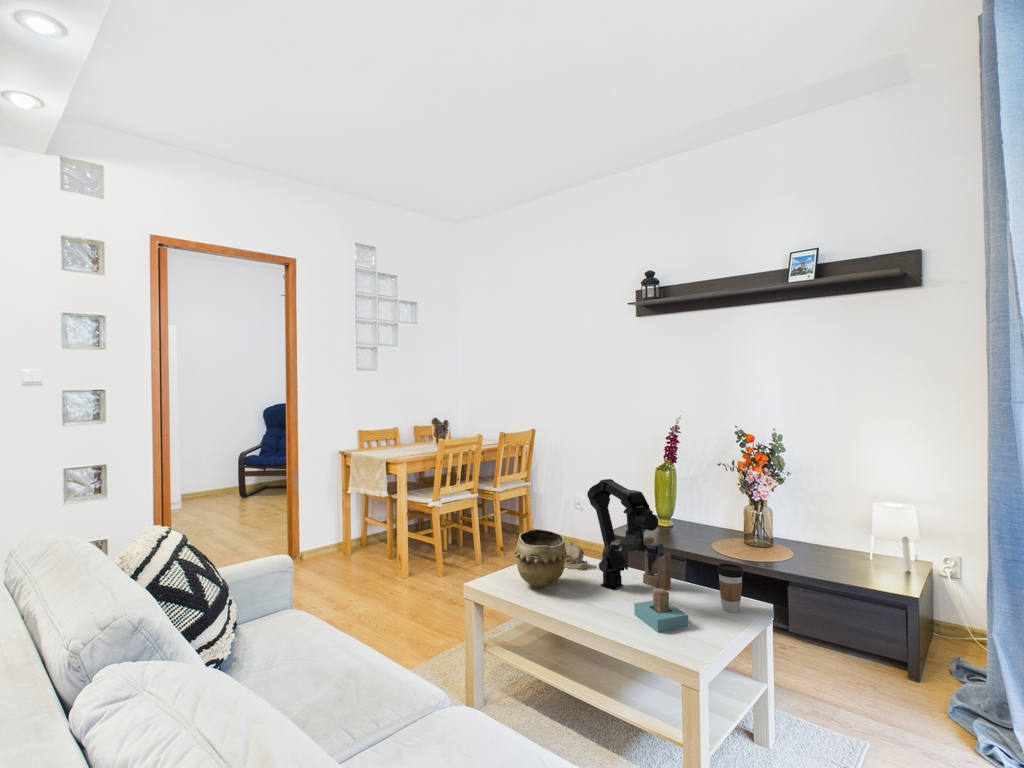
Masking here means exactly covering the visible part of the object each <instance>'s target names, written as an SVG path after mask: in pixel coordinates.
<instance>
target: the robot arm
mask: <svg viewBox="0 0 1024 768" xmlns="http://www.w3.org/2000/svg"><path fill="white" fill-rule="evenodd" d="M611 495H612V496H614V497H615V498H617V499H618V500H619V501H620V504H621V505H622V506H623V507H624V508H625V509H624V510H623V513H624V514H626V527H627V529H626V530H625V536H624V537H623V538H622V539H616V535H615V530H614V527H613V522H612V519H611V514H610V511H609V504H610V502H611V498H610V497H611ZM586 496H587V498H588V501H589V503H590V506H592V507H593V508H594V510H595V512H596V517H597V521H598V524H599V525H598V526H599V528H600V533H601V537H602V538H601V539H602V541H603V545H604V547H603V550H602V555H601V556H602V560H600V562H599V563H598V570H599V571H601V572H602V583H601V584H600V587H603V588H606V589H610V590H613V591H615V590H617V589H620V588H623V586H624V584H623V583H622V577H623V576H622V573H621V572H624V571H626V570H629V553H630V552H631V553H633V552H635V550H642V551H645V550H647V552H648V554H647V557H648V569H649V573H651V572H652V569H653V566H654V563H655V562H656V561H657V557H658V556H659V555H661V554H662V553H664V552H665V546H664V545H663V544H664V543H660V542H654V543H651V544H649V545H645V544H646V540H645V532H646V531H648V532H649V531H651V532H653V531H655V530H656V529H657V528H658V526H659V519H658V517H657V516H656V514H653V512H654V511H653V510H651V508H650V505H649V503H648V501H647V499H646V497H645V495H644V493H643V492H642V491H640V490H635V489H634V490H633V489H628V488H626V487H625V486H623V485H621V484H619V483H618V482H616V481H614V479H612V478H607V479H601V480H599V482H597V483H595V484H594V485H592V486H591V487H590V488H589V489H588V491H587V495H586Z"/></svg>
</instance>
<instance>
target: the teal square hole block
mask: <svg viewBox="0 0 1024 768" xmlns="http://www.w3.org/2000/svg"><path fill="white" fill-rule="evenodd" d="M633 603H634V604H633V605H634V606H633V607H634V608H633V609H634V611H633V612H634V616H635V617H636V618H637V619H639V620H640V621H642V622H643V623H644V624H646V625H647V626H649V627H650V628H651V629H653V630H654V631H655V632H656V633H662V632H668V631H674V630H679V629H685V628H689V614H688V613H687V612H685V611H683V610H682V609H680V608H678V607H677V606H675V605H674V604H672V603H670V602H669V612H665V613H659V614H658V613H657V612H656V611H654V610H653V599H652V600H647V601H642V602H633Z"/></svg>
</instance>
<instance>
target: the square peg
mask: <svg viewBox="0 0 1024 768" xmlns="http://www.w3.org/2000/svg"><path fill="white" fill-rule="evenodd" d="M669 595H670V592H669V591H667V590H664V589H662V588H654V589H652V600H653V610H654V611H656V612H657V613H658V614H659V613H665V612H669V603H670V596H669Z"/></svg>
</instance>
